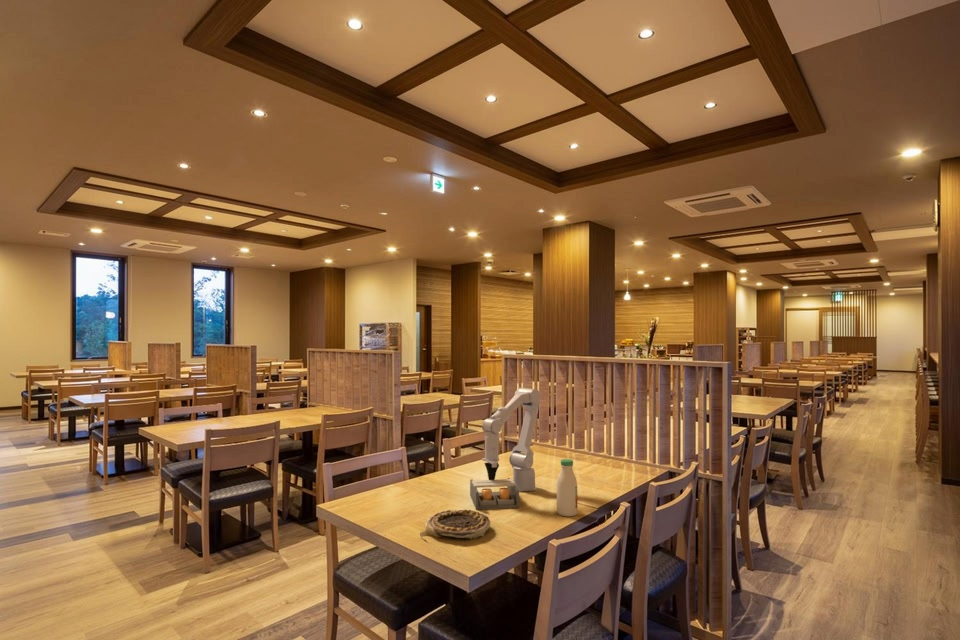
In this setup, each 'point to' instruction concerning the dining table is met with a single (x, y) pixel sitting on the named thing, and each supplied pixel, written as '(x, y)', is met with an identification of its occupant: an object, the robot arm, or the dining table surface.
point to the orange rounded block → (504, 493)
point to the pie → (457, 525)
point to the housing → (493, 498)
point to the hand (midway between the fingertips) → (491, 480)
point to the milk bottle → (566, 490)
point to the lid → (493, 483)
